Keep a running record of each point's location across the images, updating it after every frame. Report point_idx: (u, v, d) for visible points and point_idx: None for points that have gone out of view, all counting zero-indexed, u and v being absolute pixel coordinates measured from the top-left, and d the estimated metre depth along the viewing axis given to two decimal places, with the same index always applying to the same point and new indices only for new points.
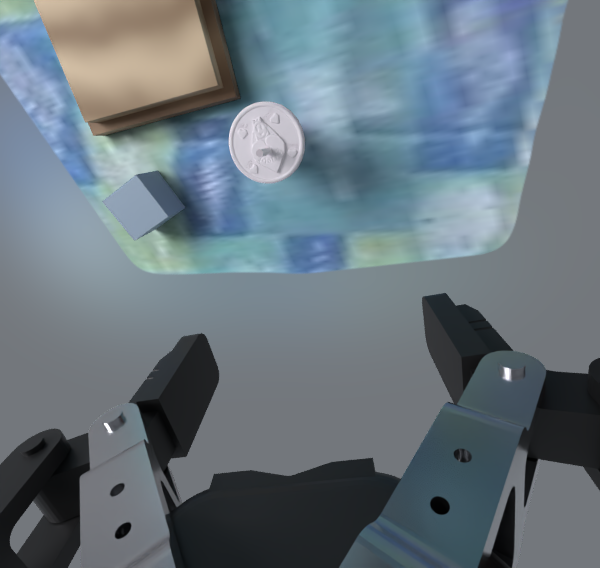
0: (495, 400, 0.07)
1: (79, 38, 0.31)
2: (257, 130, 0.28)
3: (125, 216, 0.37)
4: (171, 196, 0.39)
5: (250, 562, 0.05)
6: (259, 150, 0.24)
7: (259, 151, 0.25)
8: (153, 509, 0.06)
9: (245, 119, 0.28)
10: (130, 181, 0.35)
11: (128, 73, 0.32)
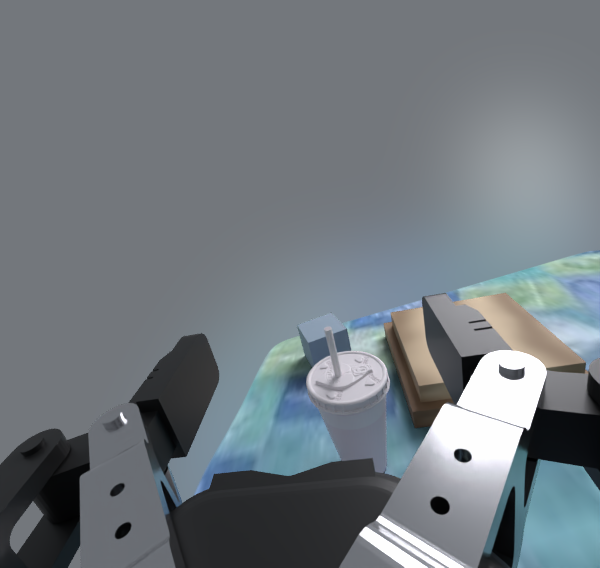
0: (495, 400, 0.07)
1: None
2: (359, 367, 0.27)
3: (316, 321, 0.45)
4: None
5: (250, 562, 0.05)
6: (330, 328, 0.25)
7: (329, 329, 0.25)
8: (153, 509, 0.06)
9: (372, 363, 0.27)
10: (342, 325, 0.42)
11: None
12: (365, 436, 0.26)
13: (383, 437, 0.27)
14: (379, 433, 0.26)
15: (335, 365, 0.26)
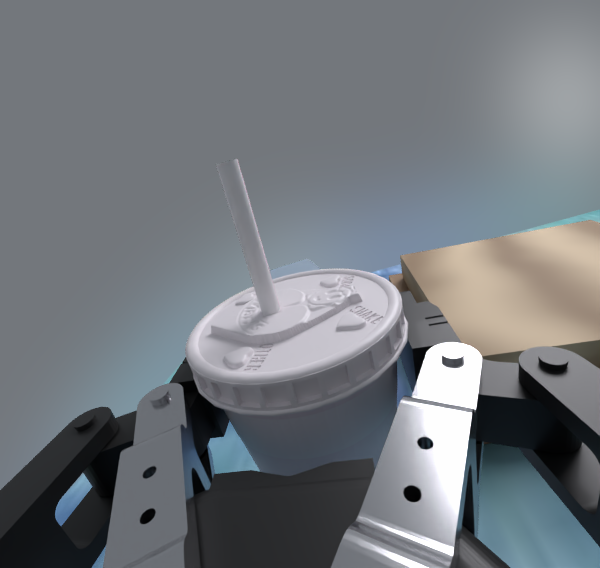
0: (432, 386, 0.07)
1: (500, 250, 0.24)
2: (328, 293, 0.10)
3: (283, 270, 0.28)
4: None
5: (250, 563, 0.05)
6: None
7: (231, 165, 0.08)
8: (177, 500, 0.06)
9: None
10: None
11: (465, 277, 0.22)
12: None
13: None
14: None
15: (257, 279, 0.09)
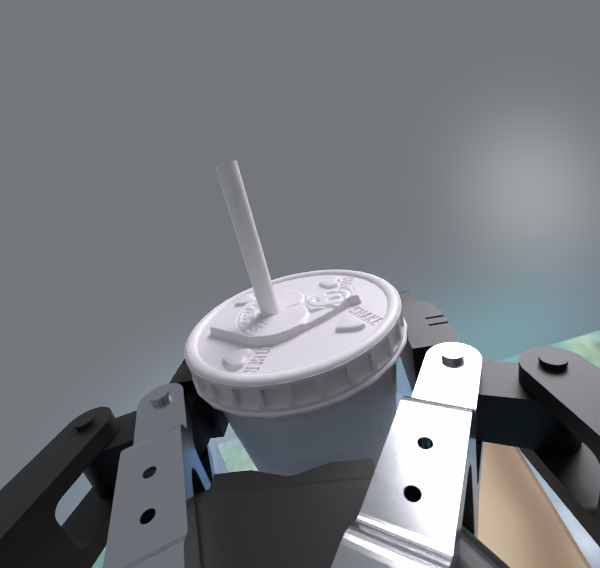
0: (432, 386, 0.07)
1: None
2: (327, 294, 0.10)
3: None
4: None
5: (250, 563, 0.05)
6: None
7: (230, 166, 0.08)
8: (177, 500, 0.06)
9: None
10: None
11: None
12: None
13: None
14: None
15: (256, 280, 0.09)
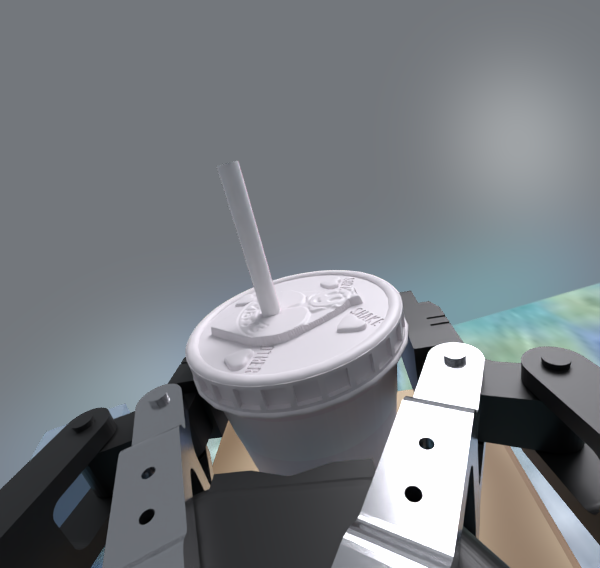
0: (435, 386, 0.07)
1: None
2: (328, 294, 0.10)
3: None
4: None
5: (250, 564, 0.05)
6: None
7: (232, 167, 0.08)
8: (176, 500, 0.06)
9: None
10: None
11: None
12: None
13: None
14: None
15: (258, 281, 0.09)
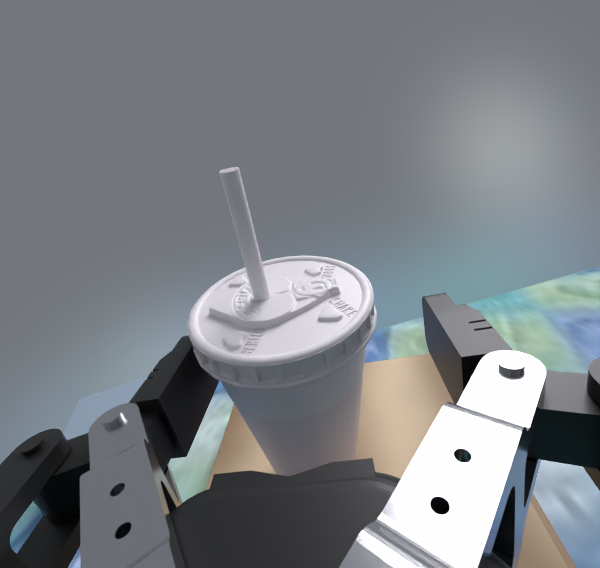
0: (495, 400, 0.07)
1: None
2: (312, 283, 0.12)
3: (111, 395, 0.25)
4: None
5: (250, 563, 0.05)
6: (235, 169, 0.09)
7: (233, 173, 0.09)
8: (153, 509, 0.06)
9: (341, 278, 0.12)
10: None
11: None
12: (314, 432, 0.11)
13: (353, 430, 0.13)
14: (344, 424, 0.12)
15: (252, 272, 0.11)
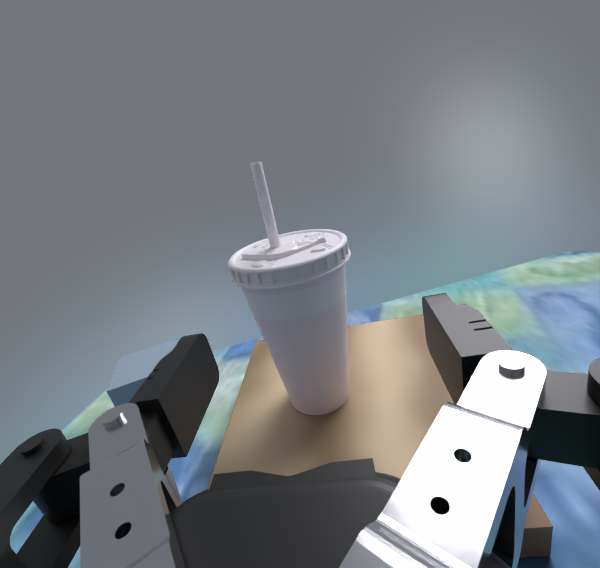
0: (495, 400, 0.07)
1: None
2: (308, 238, 0.18)
3: (146, 353, 0.30)
4: None
5: (249, 563, 0.05)
6: None
7: (257, 164, 0.16)
8: (153, 509, 0.06)
9: None
10: None
11: (279, 383, 0.23)
12: (311, 333, 0.17)
13: (341, 344, 0.18)
14: (333, 334, 0.18)
15: (269, 227, 0.17)
